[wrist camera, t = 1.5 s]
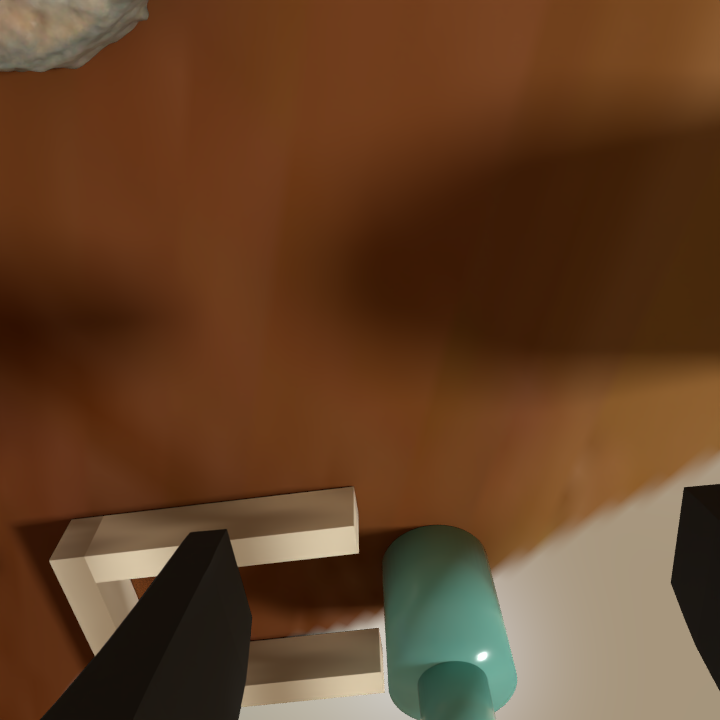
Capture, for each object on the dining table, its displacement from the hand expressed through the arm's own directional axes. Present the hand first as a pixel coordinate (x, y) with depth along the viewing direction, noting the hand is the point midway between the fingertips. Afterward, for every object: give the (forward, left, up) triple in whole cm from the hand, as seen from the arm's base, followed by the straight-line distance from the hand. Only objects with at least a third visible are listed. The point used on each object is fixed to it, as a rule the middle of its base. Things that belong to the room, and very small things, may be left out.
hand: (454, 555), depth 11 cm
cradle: (-7, -11, -11) cm, 17 cm away
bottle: (0, -11, -11) cm, 15 cm away
